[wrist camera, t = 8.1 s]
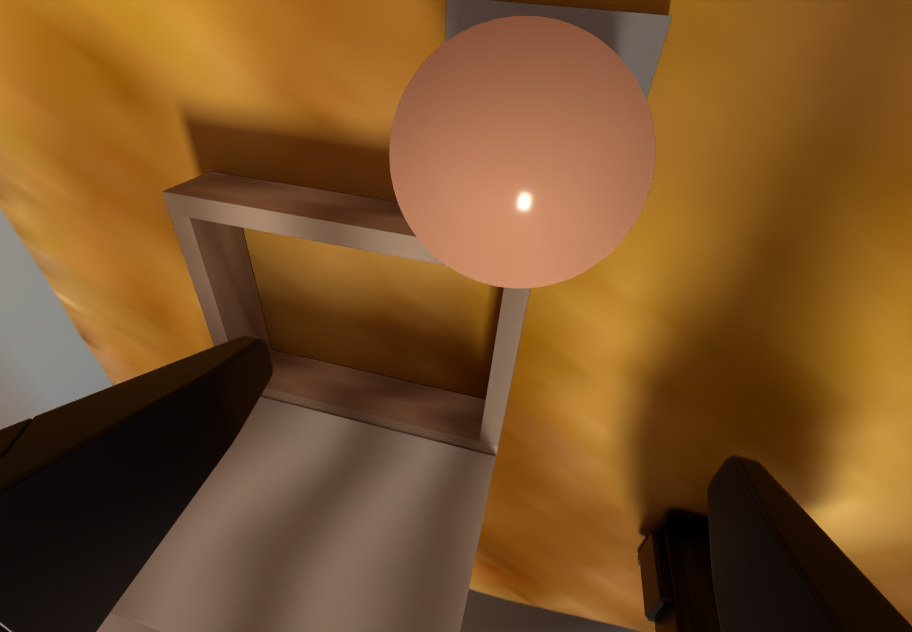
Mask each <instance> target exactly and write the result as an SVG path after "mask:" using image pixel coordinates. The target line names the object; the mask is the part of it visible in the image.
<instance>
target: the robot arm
mask: <svg viewBox="0 0 912 632" xmlns="http://www.w3.org/2000/svg"><path fill="white" fill-rule="evenodd" d="M272 373H273V365H272V361H271V356H270V352H269V347H268V343H267V342H266V340H265V339H263V338H259V337H255V336H251V335H243V336H240V337H238V338H235V339H233V340H230V341H228V342H225V343H222V344H220V345H217V346H215V347H212V348H210V349H207V350H204V351H202V352H199V353H197V354H194V355H192V356H189V357H186V358H184V359H181V360H179V361H176V362H174V363H171V364H168V365H166V366H163V367H161V368H158V369H156V370H153V371H150V372H148V373H145V374H143V375H140V376H138V377H135V378H132V379H130V380H127V381H125V382H122V383H120V384H117V385H114V386H112V387H110V388H107V389H104V390H102V391H99V392H97V393H94V394H91V395H89V396H86V397H84V398H81V399H79V400H76V401H73V402H71V403H68V404H66V405H63V406H60V407H58V408H55V409H53V410H50V411H48V412H45V413H42V414H40V415H37V416H35V417H34V418H33V419H27V420H24V421H22V422H19V423H16V424H14V425H12V426H9V427H6V428H4V429H1V430H0V632H96V631H97V630H98V628H99V627H100V626H101V624H102V623H103V622H104V620H105V619H106V618H107V616H108V615H109V613H110V612H111V611H112V609H113V608H114V607H115V605H116V604H117V602H118V601H119V600H120V598H121V597H122V595H123V594H124V593H125V591H126V590H127V589H128V587H129V586H130V584H131V583H132V582H133V580H134V579H135V578H136V576H137V575H138V573H139V572H140V571H141V569H142V568H143V567H144V565H145V564H146V562H147V561H148V560H149V558H150V557H151V556H152V554H153V553H154V551H155V550H156V549H157V547H158V546H159V545H160V543H161V542H162V540H163V539H164V538H165V536H166V535H167V533H168V532H169V531H170V529H171V528H172V527H173V525H174V524H175V522H176V521H177V520H178V518H179V517H180V516H181V514H182V513H183V511H184V510H185V509H186V507H187V506H188V505H189V503H190V502H191V500H192V499H193V498H194V496H195V495H196V494H197V492H198V491H199V489H200V488H201V487H202V485H203V484H204V482H205V481H206V480H207V478H208V477H209V476H210V474H211V473H212V471H213V470H214V469H215V467H216V466H217V465H218V463H219V462H220V460H221V459H222V458H223V456H224V455H225V454H226V452H227V451H228V449H229V448H230V446H231V445H232V444H233V442H234V441H235V439H236V437H237V436H238V434H239V433H240V431H241V429H242V428H243V426H244V424H245V422H246V421H247V419H248V417H249V416H250V414H251V412H252V410H253V409H254V407H255V405H256V404H257V402H258V400H259V398H260V397H261V395H262V393H263V391H264V390H265V388H266V386H267V385H268V383H269V381H270V379H271V377H272ZM707 500H708V517H709V518H707V517H703V516H699V515H695V514H691V513H687V512H683V511H680V510H670V511H668V512H667V513H666V514H665V516H664V517H663V519H662V520H661V522H660V523H659V525H658V526H657V528H656V529H655V531H654V532H652V533H651V534H650V536H649V537H648V539H647V540H646V542H645V543H644V545H643V546H642V548H641V549H640V551H639V555H638V564H639V565H640V567H641V578H642V588H643V598H644V609H645V616H646V617H647V619H648V620H649V621H651V622H655V630H656V632H912V626H911V625H910V624H909V623H908V621H907V620H906V619H905V618H904V617H903V616H902V615H901V614H900V613H899V612H898V611H897V610H896V609H895V607H894V606H893V605H892V604H891V603H890V602H889V601H888V600H887V599H886V598H885V597H884V596H883V595H882V593H881V592H880V591H879V590H878V589H877V588H876V587H875V586H874V585H873V584H872V583H871V582H870V581H869V579H868V578H867V577H866V576H865V575H864V574H863V573H862V572H861V571H860V570H859V569H858V568H857V567H856V565H855V564H854V563H853V562H852V561H851V560H850V559H849V558H848V557H847V556H846V555H845V554H844V553H843V551H842V550H841V549H840V548H839V547H838V546H837V545H836V544H835V543H834V542H833V541H832V540H831V539H830V537H829V536H828V535H827V534H826V533H825V532H824V531H823V530H822V529H821V528H820V527H819V526H818V525H817V523H816V522H815V521H814V520H813V519H812V518H811V517H810V516H809V515H808V514H807V513H806V512H805V511H804V509H803V508H802V507H801V506H800V505H799V504H798V503H797V502H796V501H795V500H794V499H793V498H792V497H791V495H790V494H789V493H788V492H787V491H786V490H785V489H784V488H783V487H782V486H781V485H780V484H779V483H778V481H777V480H776V479H775V478H774V477H773V476H772V475H771V474H770V473H769V472H768V471H767V470H766V469H765V467H764V466H763V465H762V464H761V463H759V462H758V461H756V460H753V459H749V458H745V457H741V456H737V455H731V456H729V457H727V458H726V460H725V461H724V462H723V464H722V465H721V466H720V468H719V469H718V471H717V472H716V473H715V475H714V476H713V478H712V479H711V480H710V482H709V485H708V490H707Z"/></svg>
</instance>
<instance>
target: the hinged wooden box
mask: <svg viewBox="0 0 912 632" xmlns="http://www.w3.org/2000/svg"><path fill="white" fill-rule="evenodd" d="M162 193H163V196H164V199H165V202H166V205H167V208H168V211H169V214H170V217H171V219H172V222H173V225H174V228H175V231H176V234H177V237H178V240H179V243H180V246H181V249H182V252H183V255H184V258H185V261H186V264H187V267H188V269H189V272H190V275H191V278H192V281H193V284H194V287H195V290H196V293H197V296H198V299H199V302H200V305H201V308H202V311H203V314H204V317H205V320H206V322H207V325H208V328H209V331H210V334H211V337H212V340H213V343H214V346H217V345H220V344H222V343H225V342H228V341H230V340H233V339H235V338H238V337H240V336H243V335H251V336H255V337H259V338H263V339H265V340H266V342H267V343H268V347H269V352H270V356H271V361H272V365H273V373H272V377H271V379H270V381H269V383H268V385H267V386H266V388H265V390H264V391H263V393H262V395H261V397H260V398H259V400H258V402H257V404H256V405H255V407H254V409H253V410H252V412H251V414H250V416H249V417H248V419H247V421H246V422H245V424H244V426H243V428H242V429H241V431H240V433H239V434H238V436H237V437H236V439H235V441H234V442H233V444H232V445H231V446H230V448H229V449H228V451H227V452H226V454H225V455H224V456H223V458H222V459H221V460H220V462H219V463H218V465H217V466H216V467H215V469H214V470H213V471H212V473H211V474H210V476H209V477H208V478H207V480H206V481H205V482H204V484H203V485H202V487H201V488H200V489H199V491H198V492H197V494H196V495H195V496H194V498H193V499H192V500H191V502H190V503H189V505H188V506H187V507H186V509H185V510H184V511H183V513H182V514H181V516H180V517H179V518H178V520H177V521H176V522H175V524H174V525H173V527H172V528H171V529H170V531H169V532H168V533H167V535H166V536H165V538H164V539H163V540H162V542H161V543H160V545H159V546H158V547H157V549H156V550H155V551H154V553H153V554H152V556H151V557H150V558H149V560H148V561H147V562H146V564H145V565H144V567H143V568H142V569H141V571H140V572H139V573H138V575H137V576H136V578H135V579H134V580H133V582H132V583H131V584H130V586H129V587H128V589H127V590H126V591H125V593H124V594H123V595H122V597H121V598H120V600H119V601H118V602H117V604H116V605H115V607H114V608H113V609H112V611H111V612H110V613H112V614H115V615H118V616H120V617H123V618H126V619H128V620H131V621H134V622H137V623H139V624H142V625H145V626H147V627H151V628H153V629H156V630H158V631H161V632H460V628H461V623H462V618H463V614H464V609H465V604H466V599H467V594H468V589H469V585H470V580H471V575H472V570H473V565H474V560H475V555H476V551H477V546H478V541H479V536H480V531H481V526H482V522H483V517H484V512H485V507H486V502H487V497H488V492H489V488H490V483H491V478H492V473H493V468H494V463H495V458H496V454H497V449H498V444H499V439H500V434H501V429H502V425H503V420H504V415H505V410H506V405H507V400H508V395H509V390H510V386H511V381H512V376H513V371H514V366H515V361H516V356H517V351H518V346H519V341H520V337H521V332H522V327H523V322H524V317H525V312H526V307H527V302H528V297H529V292H530V288H525V289H522V288H505V287H504V290H503V297H502V303H501V309H500V315H499V321H498V328H497V334H496V340H495V346H494V352H493V359H492V365H491V371H490V377H489V384H488V390H487V396H486V400H485V399H480V398H476V397H472V396H468V395H463V394H459V393H455V392H451V391H446V390H442V389H438V388H434V387H429V386H425V385H421V384H417V383H412V382H408V381H404V380H399V379H395V378H391V377H387V376H382V375H378V374H374V373H370V372H365V371H361V370H357V369H353V368H348V367H344V366H340V365H336V364H331V363H327V362H323V361H318V360H314V359H310V358H306V357H301V356H297V355H293V354H289V353H284V352H280V351H276V350H272V349H271V346H270V341H269V337H268V333H267V329H266V325H265V321H264V316H263V312H262V308H261V304H260V300H259V296H258V291H257V287H256V283H255V279H254V275H253V270H252V266H251V262H250V258H249V254H248V250H247V245H246V241H245V237H244V233H243V229H242V227H243V228H248V229H253V230H259V231H264V232H270V233H275V234H280V235H286V236H291V237H296V238H302V239H307V240H312V241H318V242H323V243H328V244H334V245H339V246H344V247H350V248H355V249H360V250H366V251H371V252H376V253H382V254H387V255H392V256H398V257H403V258H409V259H414V260H419V261H425V262H430V263H435V264H441V265H445V264H444V263H442V262H441V261H440V260H439V259H437V258H436V257H435V256H434V255H433V254H432V253H431V252H430V251H429V250H428V249H427V248H426V247H425V246H424V245H423V244H422V243H421V242H420V240H419V239H418V238H417V236H416V235H415V234H414V233H413V231H412V230H411V228H410V226H409V225H408V223H407V221H406V219H405V218H404V216H403V213H402V211H401V209H400V207H399V204H398V202H393V201H387V200H381V199H375V198H369V197H363V196H357V195H351V194H345V193H339V192H333V191H327V190H321V189H315V188H309V187H302V186H296V185H290V184H284V183H278V182H272V181H266V180H260V179H254V178H248V177H242V176H236V175H230V174H224V173H218V172H212V171H211V172H208V173H206V174H203V175H201V176H199V177H196V178H194V179H191V180H189V181H187V182H184V183H182V184H179V185H177V186H174V187H172V188H170V189H167V190H165V191H162ZM446 266H447V265H446Z"/></svg>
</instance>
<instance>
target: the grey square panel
mask: <svg viewBox="0 0 912 632" xmlns="http://www.w3.org/2000/svg"><path fill="white" fill-rule="evenodd" d="M512 16H541V17H547V18H552V19H558V20H562V21H565V22H568V23H570V24H573V25H576V26H579V27H580V28H582V29H584V30H586V31H588V32H590V33H591V34H593V35H595V36H596V37H598V38H599V39H600V40H601V41H603V42H604V43H605V44H607V45H608V46H609V47H610V48H611V49H612V50H613V51H614V52H615V53H616V54H617V55H618V56H619V57H620V58H621V59H622V61H623V62H624V63H625V64H626V65H627V66H628V68H629V69H630V71H631V72H632V74H633V75H634V77H635V78H636V80H637V81H638V83H639V85H640V87H641V89H642V91H643V93H644V96H645V98H646V100H647V97H648V94H649V91H650V87H651V84H652V81H653V77H654V74H655V71H656V67H657V64H658V61H659V57H660V54H661V51H662V47H663V44H664V41H665V37H666V34H667V31H668V27H669V24H670V21H671V17H672V16H669V15H657V14H645V13H634V12H622V11H610V10H598V9H586V8H575V7H563V6H551V5H539V4H527V3H515V2H504V1H492V0H447V10H446V31H445V42H447V41H448V40H450V39H451V38H453V37H454V36H456V35H457V34H459V33H461V32H463V31H465V30H467V29H469V28H471V27H473V26H475V25H478V24H481V23H484V22H487V21H491V20H494V19H498V18H505V17H512Z"/></svg>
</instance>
